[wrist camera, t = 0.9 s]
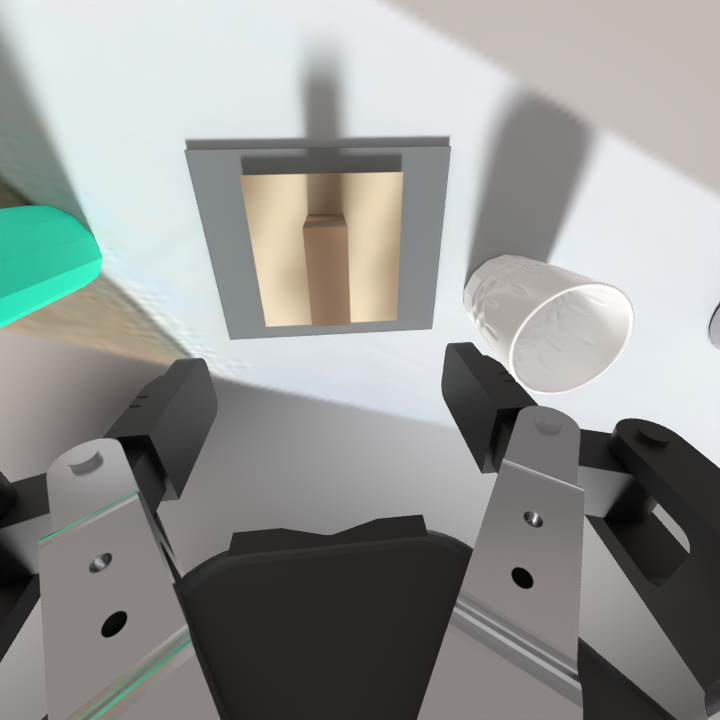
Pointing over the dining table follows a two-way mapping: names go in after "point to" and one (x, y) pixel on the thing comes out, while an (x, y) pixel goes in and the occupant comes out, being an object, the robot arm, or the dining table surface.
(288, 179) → the lid
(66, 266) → the candle
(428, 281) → the mat
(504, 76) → the dining table surface
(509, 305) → the white cup
